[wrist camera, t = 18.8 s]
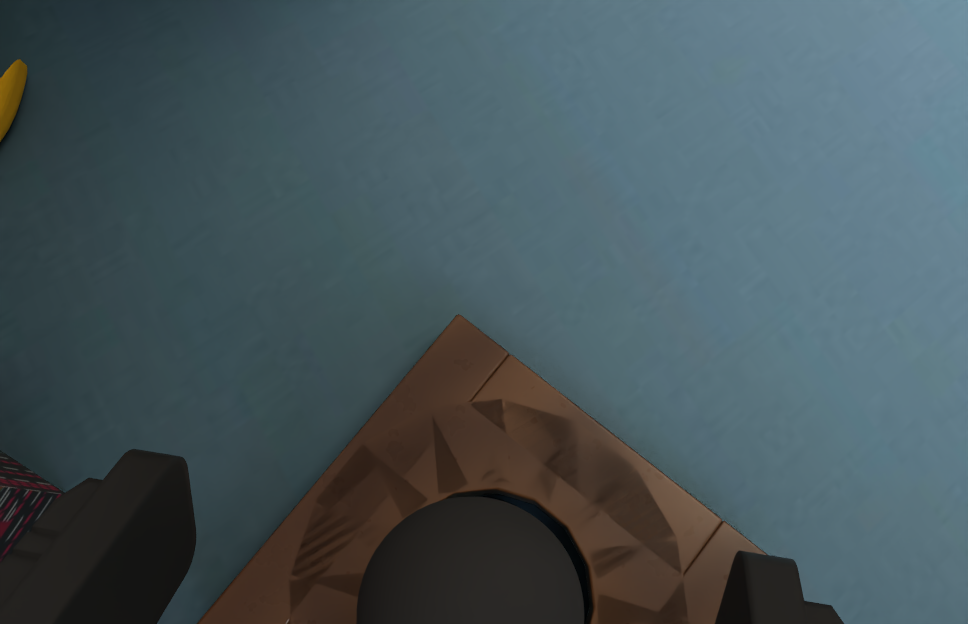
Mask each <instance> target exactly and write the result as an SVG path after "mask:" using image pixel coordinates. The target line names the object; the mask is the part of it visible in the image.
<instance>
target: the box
mask: <svg viewBox="0 0 968 624" xmlns="http://www.w3.org/2000/svg"><path fill="white" fill-rule="evenodd" d="M63 494H64V492H62V491H61V490H59V489H58V488H56V487H55V486H53V485H52V484H50V483H49V482H47V481H46V480H44V479H43V478H41V477H40V476H38V475H37V474H35V473H33V472H32V471H30V470H29V469H27V468H26V467H24V466H23V465H21V464H20V463H18V462H17V461H15V460H14V459H12V458H11V457H9V456H8V455H6V454H5V453H3V452H2V451H0V563H1V562H2V561H3V559H4V558H5V557H6V556H7V555H8V554H9V555H11V554H12V552H13V548H14V547H15V545H16V544H17V543H18V542H19V541H20V540H21V538H22V537H23V536H24V535H25V534H26V533H27V532H31V530H32V526H33V525H34V523H35V522H36V521H37V520H38V519H39V518H40V516H41V515H42V514H43V513H44V512H45V511H46V509H47V508H48V507H49V506H50V505H51V504H52V502H53V501H54V500H55V499H57V498H58V497H60V496H61V495H63Z"/></svg>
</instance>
